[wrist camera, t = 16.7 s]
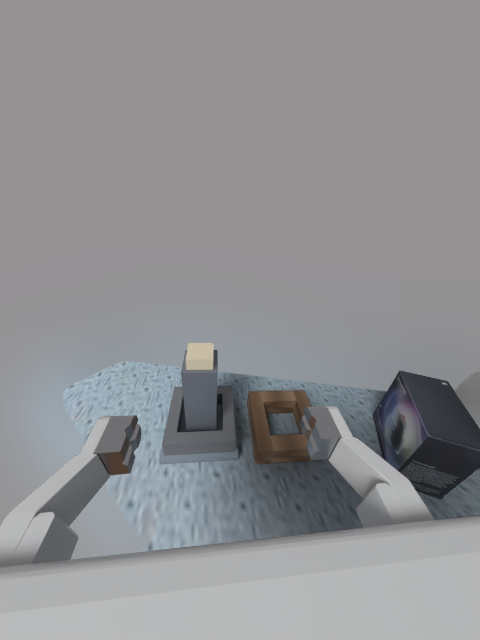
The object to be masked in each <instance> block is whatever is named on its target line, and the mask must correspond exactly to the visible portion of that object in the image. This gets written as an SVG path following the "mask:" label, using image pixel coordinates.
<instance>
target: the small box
mask: <svg viewBox="0 0 480 640" xmlns="http://www.w3.org/2000/svg"><path fill="white" fill-rule="evenodd" d="M373 417H374V421H375V425H376V429H377V434H378V438H379V442H380V447H381V451H382V455H383V459H384V460H385V461H386V462H387V463H389V464H390V465H391V466H392V467H394V468H395V469H396V470H397V471H398V472H400V473H401V474H402V475H403V476H405V477H406V478H407V479H408V480H409V481H410V482H411V484H412V485H413V487H414V489H415V490H416V491H419V492H422V493H425V494H428V495H430V496H433V497H436V498H439V499H442V498H443V497H444V496H445V495H446V494H448V493H449V492H450V491H451V490H452V489H453V488H455V487H456V486H457V485H458V484H460V483H461V482H462V481H463V480H465V479H466V478H467V477H468V476H470V475H471V474H472V473H473V472H475V471H476V469H479V467H480V428H479V427H478V425H477V424H476V422H475V421H474V419H473V418H472V416H471V415H470V413H469V412H468V410H467V409H466V408H465V406H464V405H463V403H462V402H461V400H460V399H459V397H458V396H457V394H456V393H455V391H454V390H453V389H452V387H451V386H450V384H449V383H448V381H444V380H439V379H435V378H431V377H426V376H422V375H417V374H413V373H408V372H404V371H399V372H398V374H397V376H396V378H395V379H394V381H393V383H392V385H391V386H390V388H389V389H388V391H387V393H386V394H385V396H384V398H383V399H382V401H381V403H380V404H379V406H378V408H377V409H376V411H375V413H374V414H373Z"/></svg>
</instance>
